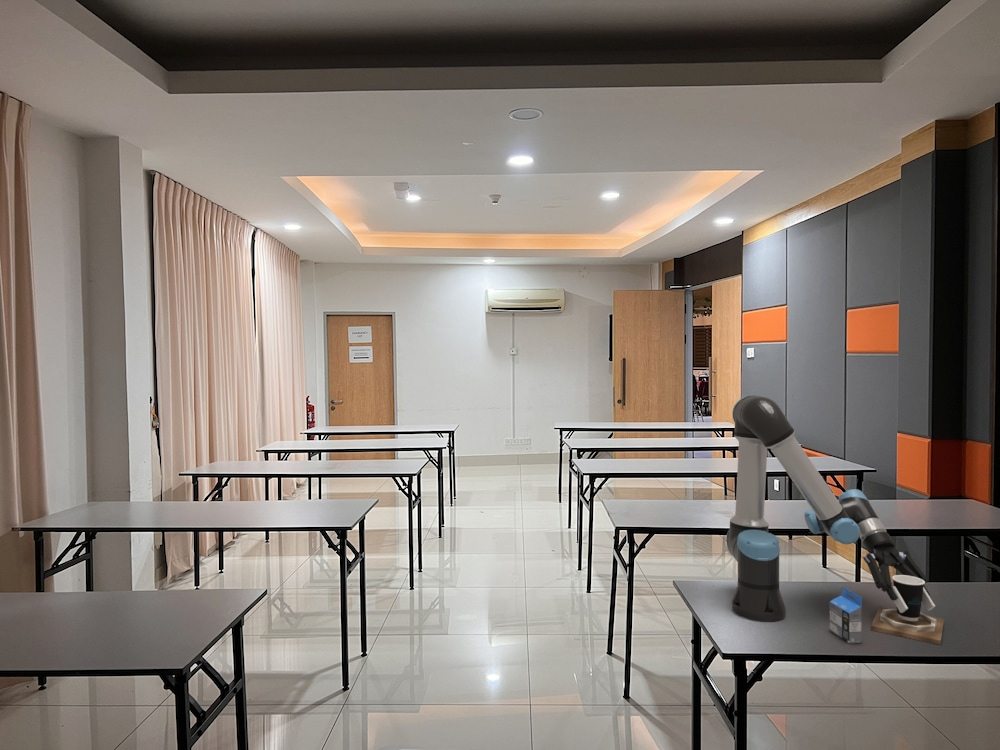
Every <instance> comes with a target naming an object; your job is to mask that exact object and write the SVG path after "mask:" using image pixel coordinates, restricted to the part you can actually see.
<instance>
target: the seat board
mask: <svg viewBox="0 0 1000 750" xmlns="http://www.w3.org/2000/svg"><path fill="white" fill-rule="evenodd" d="M944 626H945V619H944V618H942V617H935V616H930V615H927V614H925V613H923V612H921V611H920V617H919V618H918V621H907V620H903V619H901V618H899V616H898V613H897V608H890V607H889V608H888V607H882V606H879V607H878V610H877V612H876V614H875V616H874V619H873V620H872V623H871V626H870V631H873V632H878V633H882V634H883V633H884V634H886V635H892V636H897V637H901V636H902V637H901V638H905V637H906V638H905V639H910V638H911V640H915V641H920V642H925V643H930V644H933V645H941V644H942V643H941V642H942V637H943V633H944Z"/></svg>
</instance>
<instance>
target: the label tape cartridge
mask: <svg viewBox="0 0 1000 750" xmlns="http://www.w3.org/2000/svg"><path fill="white" fill-rule="evenodd" d="M850 596H852V597H853V598H852V597H850ZM862 604H863V597H862V596H860V595H859V594H856V593H855V592H853V591H851V590H849V589H847V588H846V587H844V586H841V595H839V596H837V597H835V598H833V599H832V600H829V631H830V632H831V633H833V634H835V635H836V636H837V637H839V638H840V639H842V640H843V641H845V642H846V643H848V644H850V645H852V644H854V645H855V644H862V606H863V605H862Z"/></svg>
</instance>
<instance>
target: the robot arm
mask: <svg viewBox="0 0 1000 750" xmlns="http://www.w3.org/2000/svg"><path fill="white" fill-rule="evenodd" d="M732 419H733V423H734V433H733V437H734V438H735V439H736V440H737V441H738V451H737V452H738V453H737V454H738V455H737V456H738V457H737V473H736V475H737V476H736V493H735V495H736V496H735V511H734V513H735V515H733V516H732V517H731V518H730V520H729V529H728V531H727V533H726V538H725V539H726V542H725V543H726V547H727V549H728V551H729V553H730V555H731V556H732V557H733V558H734V559H735V561H736V562H737V586H736V588H735V591H734V593H733V597H732V600H731V610H732V612H733V613H734V614H736V615H738V616H739V617H742V618H745V619H748V620H752V621H758V622H778V621H781V620H783V619H785V618H786V616H787V615H786V613H787V612H786V611H787V610H786V609H787V608H786V605H785V602H784V599H783V596H782V593H781V590H780V552H781V547H780V542H779V539H778V537H777V536H776V535H775V534H772V533H771V532H769V523H768V521H767V520H766V519H765V517H764V516H765V498H766V481H767V479H766V478H767V460H768V450H769V449H770V450H771V451H772V453H773V454H774V456H775V457H776V458H777V460H778V461H779V463H780V465H781V466H782V468H783V469H784V470H785V472H786V473H787V475H788V476H789V478H790V480H792V482H793V483H794V485H795V486H796V488H797V490H799V492H800V493H801V495H802V496H803V498H804V499H805V501H806V502H807V504H808V505H809V508H811V509H809V510H806V511H805V512H804V515H803V516H804V520H805V523H806V525H807V527H808V529H809V531H810V532H811V533H812V534H813V535H818V534H823V533H825V534H826V535H828V536H830V537H831V538H832V539H833V541H835V542H837V543H840V544H843V545H852V544H854V543H856V542H857V541H858V539H860V540H861V541H862V544H863V545H864V548H865V549H866V551H867V552H868V553H867V554H865V556H864V557H863V561H864V562H865V564H867V567H868V569H869V571H870V574H871V576H872V580H873V582H874V584H875V586H876V587H875V588H877V589H878V590H880V589H881V590H882V591H883V592H886V594H887V595H888V597H889V599H890V600H891V601H893V602H894V604H895V606H897V607H896V609H897V608H898V610H899V611H900V613H903V612H904V611H906V610H907V609H908V607H907V605H906V604H905V602H904V600H903V599H902V597H901V595H900V593H899V592H898V590H897V588H896V587H895V586H894V585H892V580H891V579H892V577H891V573H890V567H891V568H892V567H893V569H895V570H898V571H899V572H900V574H901V575H907V576H913V577H917V578H920V579H922V580H924V581H925V584H926V583H928V582H929V579H928V577H927V576H926V575H925V574H924V573H923V571H922V570H921V569H920V567H918V565H917V564H916V562H915V561H914V559H912V557H911V555H910V553H909V551H907V550H904V551H902V552H901V551H899V550H898V549H896V547H895V543H894V540H893V539H892V537H891V536H890V534H889V533H888V532H887V529H886V528H885V526H884V525H883V523H882V521H881V520H880V518H879V516H878V515H877V513H876V512H875V509H874V508H873V506H872V504H871V503H870V500H869V499H868V498H867V497H866V495H865V494H864V493H863V491H862V490H860V489H855V488H853V489H848V490H845V492H842V493H840V495H839V496H838V499H837V497H836V496H835V494H834V492H833V491H832V489H830V487H829V485H828V484H827V482H826V481H825V478H824V477H823V476H822V475H821V473H820V472H819V470H818V469H817V468H816V467H815V464H814V463H813V462H812V460H811V459H810V458H809V456H808V454H807V453H806V452H805V451H804V449H803V447H802V445H801V444H800V443H799V441H798V440H797V439H796V437H795V432H796V431H795V429H794V428H793V426H792V425H791V423H790V422H789V420H788V417H786V415H785V414H784V412H783V410H782V408H780V406H779V405H778V403H777V402H775V401H774V400H773V399H771V398H769V397H765V396H761V395H755V394H754V395H751V394H750V395H747V396H743V397H741V398H740V399H738V400H737V402H736V403H735V404H734V405H733V408H732ZM930 596H931V594H930V592H929V591H928V588H927V587H926V586H925V585H924V586H923V594H922V602H921V603H922V604H923V606H924V607H925V609H926V611H931V610H933V609H934V608H935V607H936V604H935V603H934V602H933V600H932V599H931V597H930Z"/></svg>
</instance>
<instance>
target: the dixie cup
mask: <svg viewBox="0 0 1000 750" xmlns="http://www.w3.org/2000/svg"><path fill="white" fill-rule="evenodd" d="M891 579H892V582H893V586H895V587H896V588H897V590H898V592H899V593H900V595H901V597H902V599H903V600H904V602H905V604H906V605H907V607H908V609H907V610H906V611H904V612H903V613H900V611H899V610H898V608H897V606H896V605H895V606H896V609H897V613H898V616H899V618H901V619H903V620H907V621H918V618H919V617H920V612H921V610H922V603H923V602H922V594H923V586H925V585H926V583H925V581H924V580H922V579H920V578H917V577H913V576H907V575H903V574H896V575H893V576H892V577H891Z"/></svg>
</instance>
